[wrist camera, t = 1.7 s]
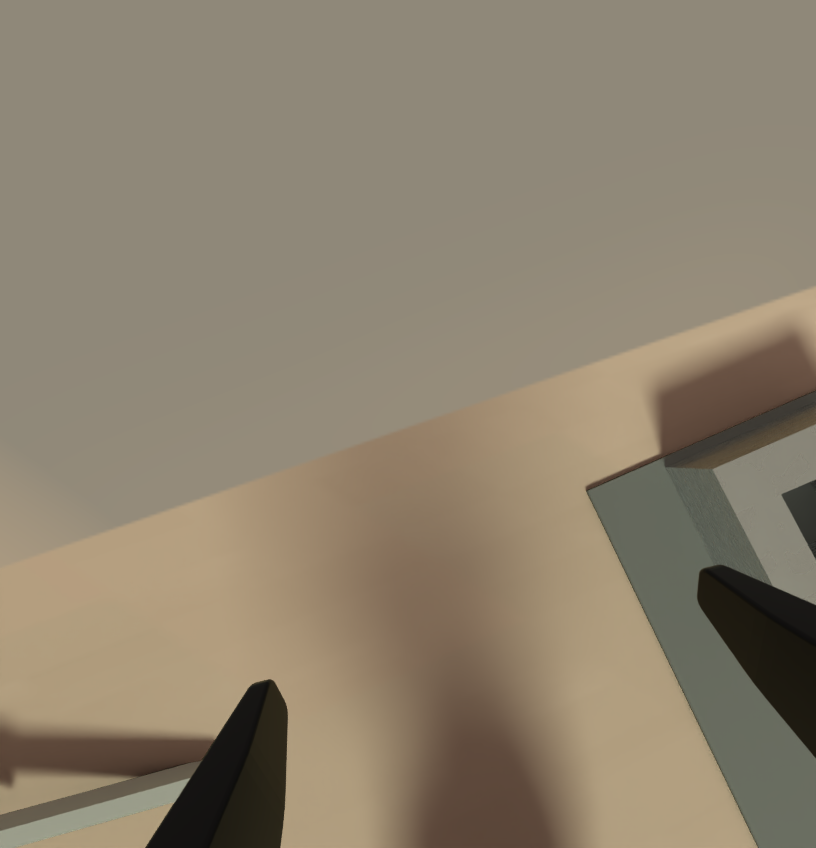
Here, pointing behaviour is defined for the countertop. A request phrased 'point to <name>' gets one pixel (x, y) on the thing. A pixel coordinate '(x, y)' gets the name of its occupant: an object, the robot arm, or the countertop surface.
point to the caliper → (93, 806)
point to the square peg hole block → (755, 501)
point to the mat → (713, 641)
